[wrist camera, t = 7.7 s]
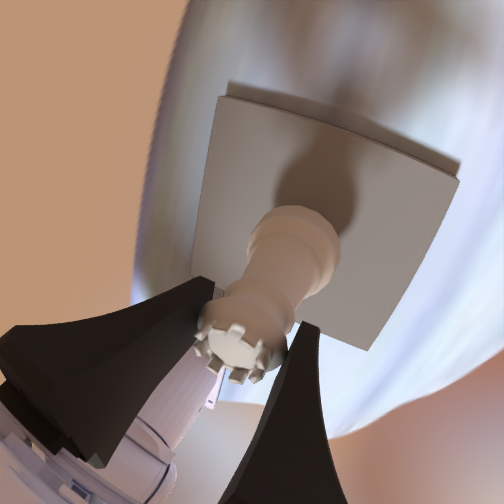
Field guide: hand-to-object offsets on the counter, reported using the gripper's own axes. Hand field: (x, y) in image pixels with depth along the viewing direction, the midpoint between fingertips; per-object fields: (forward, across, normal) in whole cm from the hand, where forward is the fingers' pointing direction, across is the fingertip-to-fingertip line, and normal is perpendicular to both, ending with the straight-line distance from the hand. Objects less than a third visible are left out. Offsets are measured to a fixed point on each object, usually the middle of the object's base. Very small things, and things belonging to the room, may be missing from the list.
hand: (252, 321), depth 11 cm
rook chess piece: (+6, 0, 0) cm, 6 cm away
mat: (+9, 0, 0) cm, 9 cm away
